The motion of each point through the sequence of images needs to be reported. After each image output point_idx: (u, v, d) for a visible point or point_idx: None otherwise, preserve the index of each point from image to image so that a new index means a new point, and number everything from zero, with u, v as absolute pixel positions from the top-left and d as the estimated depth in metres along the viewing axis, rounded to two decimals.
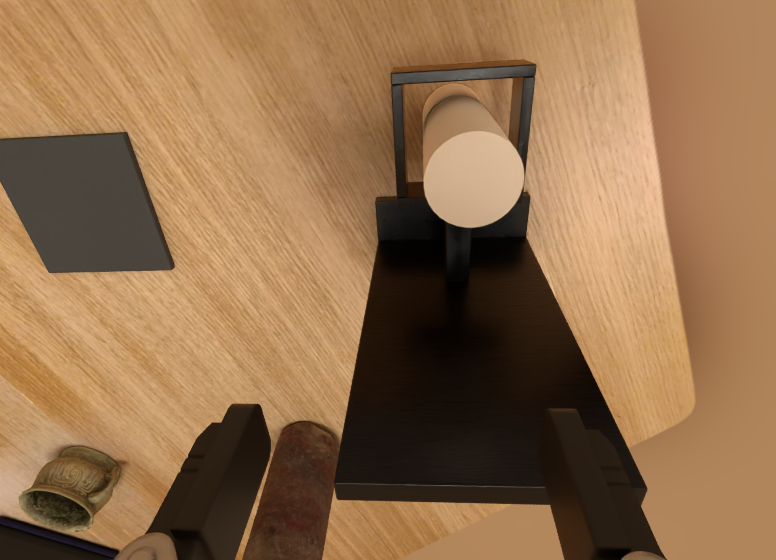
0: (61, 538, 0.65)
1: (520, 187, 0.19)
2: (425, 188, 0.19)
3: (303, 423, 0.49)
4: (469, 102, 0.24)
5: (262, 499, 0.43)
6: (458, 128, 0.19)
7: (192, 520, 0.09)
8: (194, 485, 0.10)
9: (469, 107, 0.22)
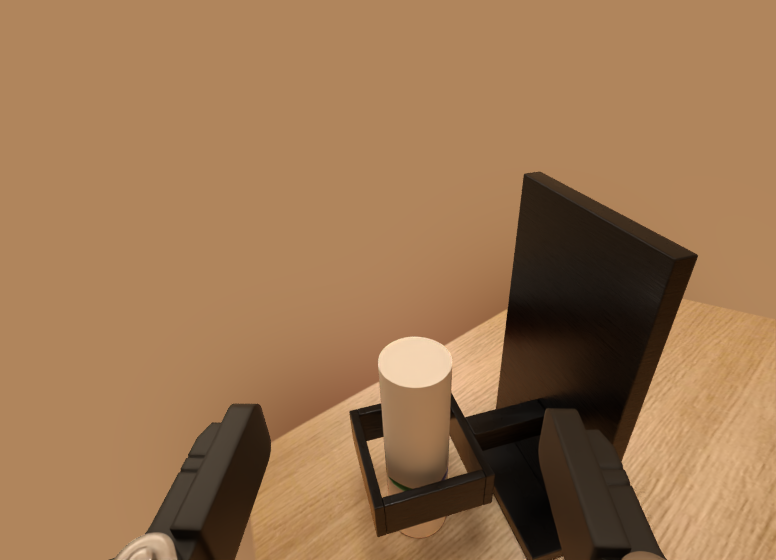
0: None
1: (409, 338, 0.27)
2: (430, 384, 0.23)
3: None
4: (384, 444, 0.29)
5: None
6: (384, 389, 0.25)
7: (192, 520, 0.09)
8: (194, 485, 0.10)
9: (383, 428, 0.28)
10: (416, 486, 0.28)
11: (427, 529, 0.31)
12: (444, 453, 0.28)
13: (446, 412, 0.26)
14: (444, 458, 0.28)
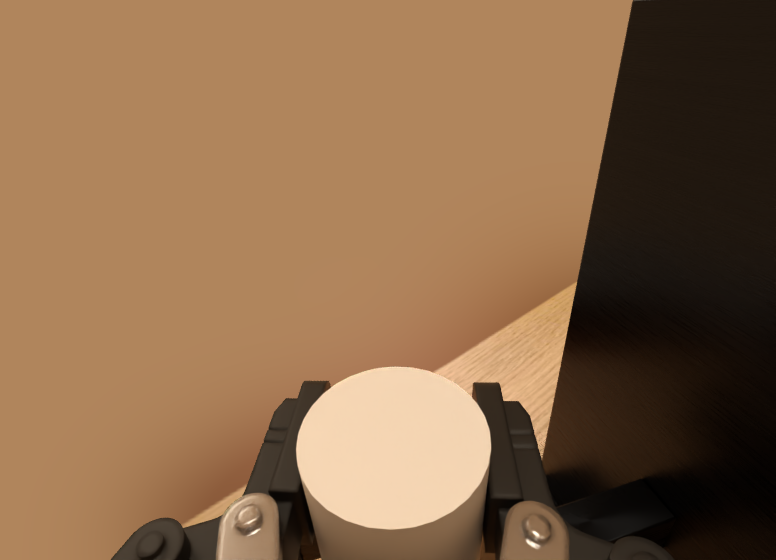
0: None
1: (382, 370, 0.11)
2: (435, 516, 0.08)
3: None
4: None
5: None
6: (312, 513, 0.09)
7: (288, 483, 0.10)
8: (283, 453, 0.11)
9: None
10: None
11: None
12: None
13: (475, 559, 0.10)
14: None
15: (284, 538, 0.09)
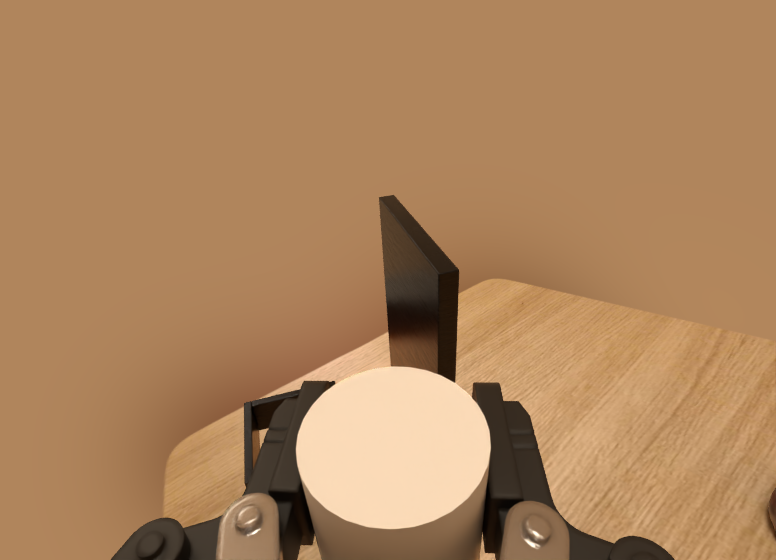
0: None
1: (382, 370, 0.11)
2: (435, 516, 0.08)
3: None
4: None
5: None
6: (311, 512, 0.09)
7: (288, 483, 0.10)
8: (283, 453, 0.11)
9: None
10: None
11: None
12: None
13: (474, 558, 0.10)
14: None
15: (284, 538, 0.09)
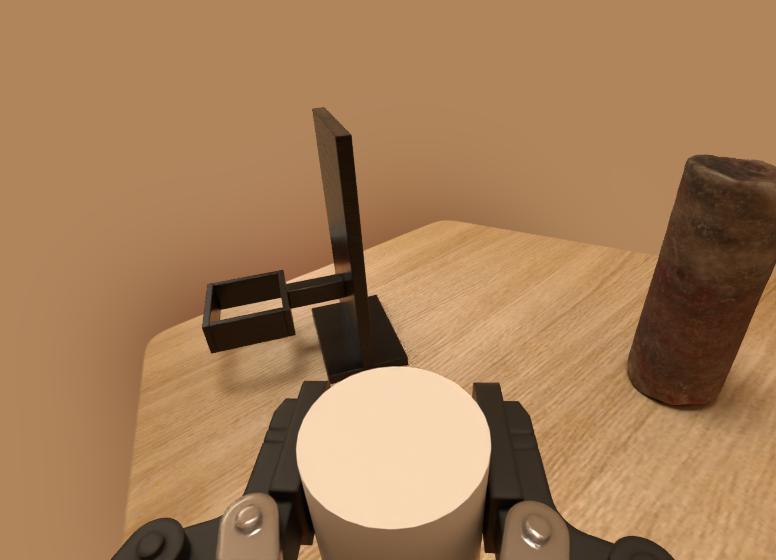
0: None
1: (382, 370, 0.11)
2: (435, 516, 0.08)
3: (637, 386, 0.39)
4: None
5: (704, 326, 0.33)
6: (312, 512, 0.09)
7: (288, 483, 0.10)
8: (283, 453, 0.11)
9: None
10: None
11: None
12: None
13: (475, 558, 0.10)
14: None
15: (284, 538, 0.09)
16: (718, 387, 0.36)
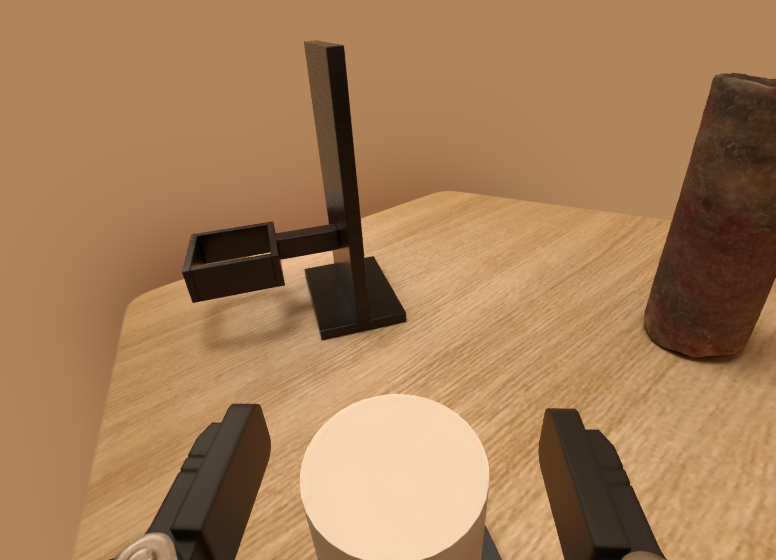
0: None
1: (383, 398, 0.12)
2: (435, 550, 0.08)
3: (656, 339, 0.36)
4: None
5: (733, 262, 0.30)
6: (315, 542, 0.10)
7: (192, 520, 0.09)
8: (194, 485, 0.10)
9: None
10: None
11: None
12: None
13: None
14: None
15: None
16: (746, 336, 0.33)
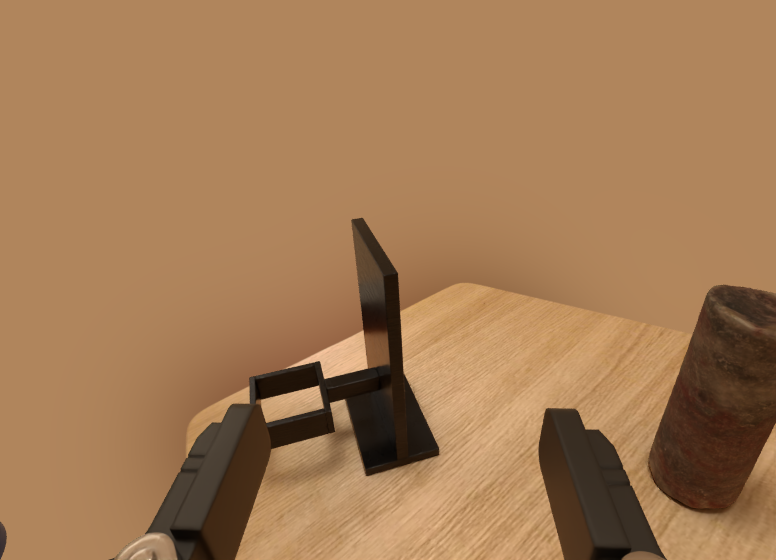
0: None
1: None
2: None
3: (659, 485, 0.41)
4: None
5: (724, 445, 0.35)
6: None
7: (192, 520, 0.09)
8: (194, 485, 0.10)
9: None
10: None
11: None
12: None
13: None
14: None
15: None
16: (737, 494, 0.38)
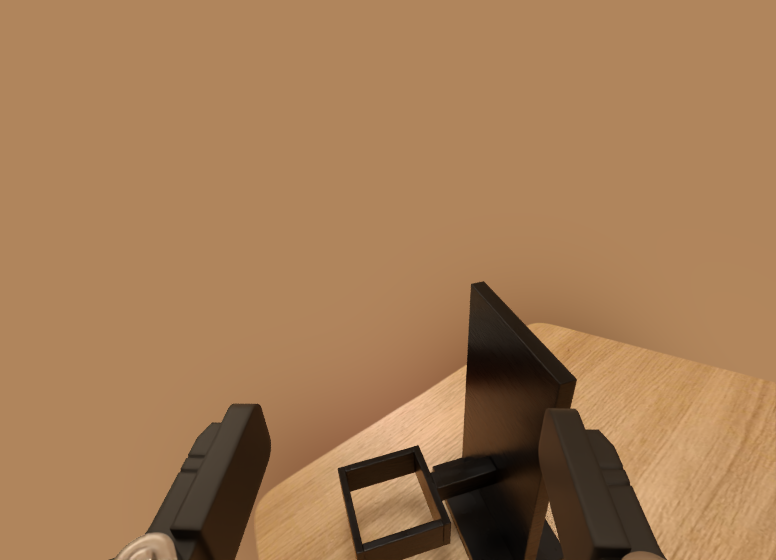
0: None
1: None
2: None
3: None
4: None
5: None
6: None
7: (192, 520, 0.09)
8: (194, 485, 0.10)
9: None
10: None
11: None
12: None
13: None
14: None
15: None
16: None
